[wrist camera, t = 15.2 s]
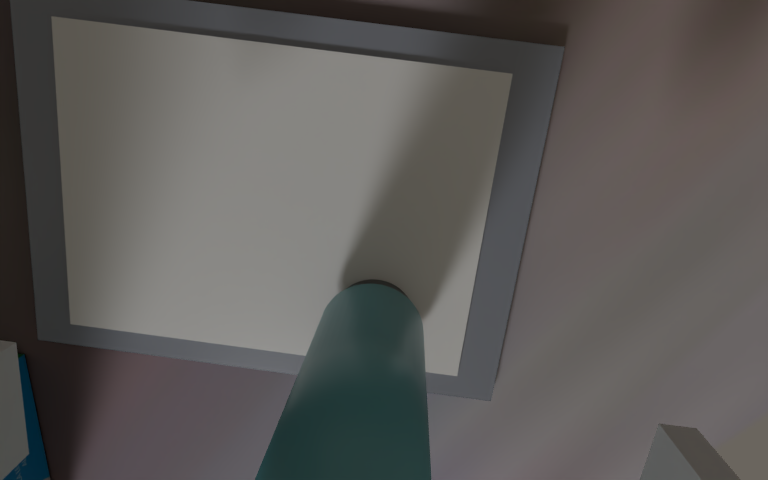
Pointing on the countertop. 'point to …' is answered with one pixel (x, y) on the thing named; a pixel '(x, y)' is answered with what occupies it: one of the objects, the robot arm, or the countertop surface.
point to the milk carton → (30, 435)
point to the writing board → (273, 178)
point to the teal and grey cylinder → (357, 395)
